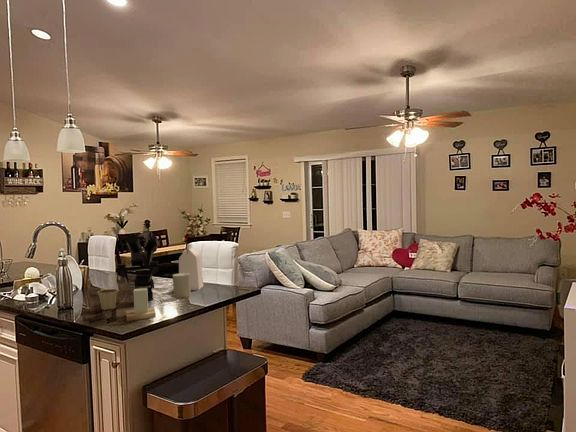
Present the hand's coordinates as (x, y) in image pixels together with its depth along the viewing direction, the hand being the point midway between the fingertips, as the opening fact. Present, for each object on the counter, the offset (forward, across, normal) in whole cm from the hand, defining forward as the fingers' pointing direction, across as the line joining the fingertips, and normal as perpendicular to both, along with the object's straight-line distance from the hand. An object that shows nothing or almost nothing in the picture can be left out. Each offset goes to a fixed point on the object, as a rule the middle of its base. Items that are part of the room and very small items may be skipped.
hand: (138, 282), depth 203 cm
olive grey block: (-9, +22, +28) cm, 37 cm away
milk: (-22, +30, +42) cm, 56 cm away
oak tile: (+16, 0, +4) cm, 17 cm away
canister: (+14, 0, +2) cm, 14 cm away
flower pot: (-1, -14, +21) cm, 25 cm away
